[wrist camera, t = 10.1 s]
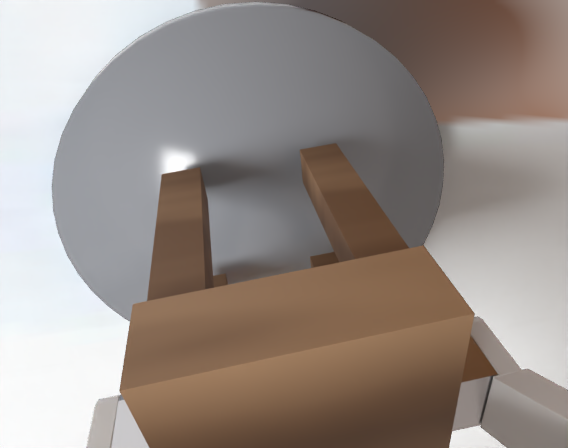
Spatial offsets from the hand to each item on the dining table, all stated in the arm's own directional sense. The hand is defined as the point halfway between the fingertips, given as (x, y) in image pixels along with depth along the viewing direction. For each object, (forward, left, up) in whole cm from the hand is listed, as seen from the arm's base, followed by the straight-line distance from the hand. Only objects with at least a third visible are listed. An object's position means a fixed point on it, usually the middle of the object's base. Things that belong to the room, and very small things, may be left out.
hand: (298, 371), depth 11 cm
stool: (0, 0, -6) cm, 6 cm away
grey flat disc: (0, 0, -8) cm, 8 cm away
